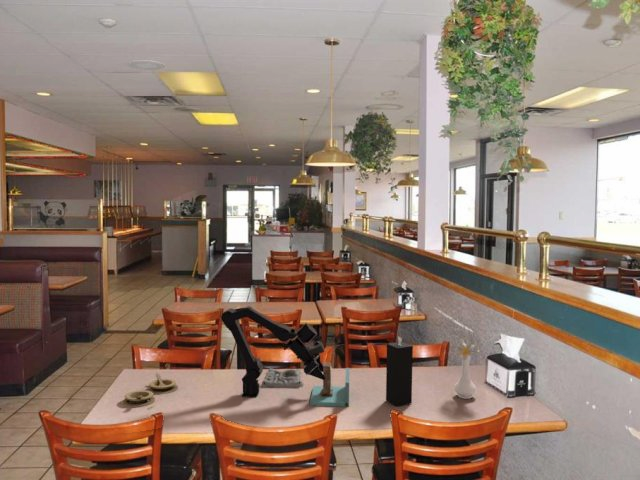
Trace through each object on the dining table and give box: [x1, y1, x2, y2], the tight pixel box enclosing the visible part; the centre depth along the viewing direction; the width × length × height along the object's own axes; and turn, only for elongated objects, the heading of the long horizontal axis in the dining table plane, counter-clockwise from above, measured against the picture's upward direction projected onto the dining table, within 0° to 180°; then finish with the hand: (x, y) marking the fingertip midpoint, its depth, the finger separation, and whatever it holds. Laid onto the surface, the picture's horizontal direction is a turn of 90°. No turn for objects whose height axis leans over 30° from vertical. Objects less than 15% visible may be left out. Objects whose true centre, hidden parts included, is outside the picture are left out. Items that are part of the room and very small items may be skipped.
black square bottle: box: [385, 335, 414, 407], centre depth 231 cm, size 8×8×28 cm
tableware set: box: [121, 372, 179, 411], centre depth 238 cm, size 30×20×6 cm, turn 160°
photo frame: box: [321, 361, 333, 396], centre depth 236 cm, size 5×6×13 cm
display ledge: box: [309, 367, 350, 408], centre depth 236 cm, size 16×20×10 cm
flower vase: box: [449, 338, 483, 400], centre depth 239 cm, size 13×18×25 cm
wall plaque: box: [261, 368, 305, 389], centre depth 260 cm, size 24×19×4 cm
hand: (325, 375), depth 236 cm, fingers open, 9 cm apart
